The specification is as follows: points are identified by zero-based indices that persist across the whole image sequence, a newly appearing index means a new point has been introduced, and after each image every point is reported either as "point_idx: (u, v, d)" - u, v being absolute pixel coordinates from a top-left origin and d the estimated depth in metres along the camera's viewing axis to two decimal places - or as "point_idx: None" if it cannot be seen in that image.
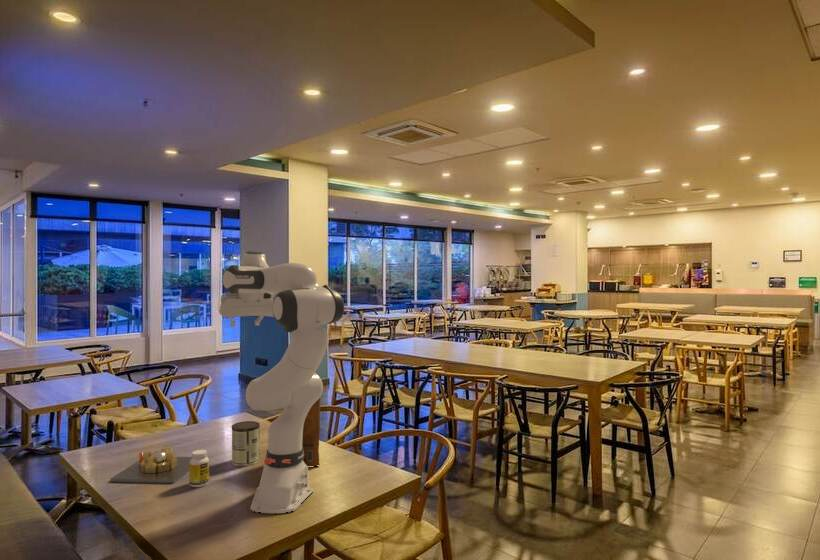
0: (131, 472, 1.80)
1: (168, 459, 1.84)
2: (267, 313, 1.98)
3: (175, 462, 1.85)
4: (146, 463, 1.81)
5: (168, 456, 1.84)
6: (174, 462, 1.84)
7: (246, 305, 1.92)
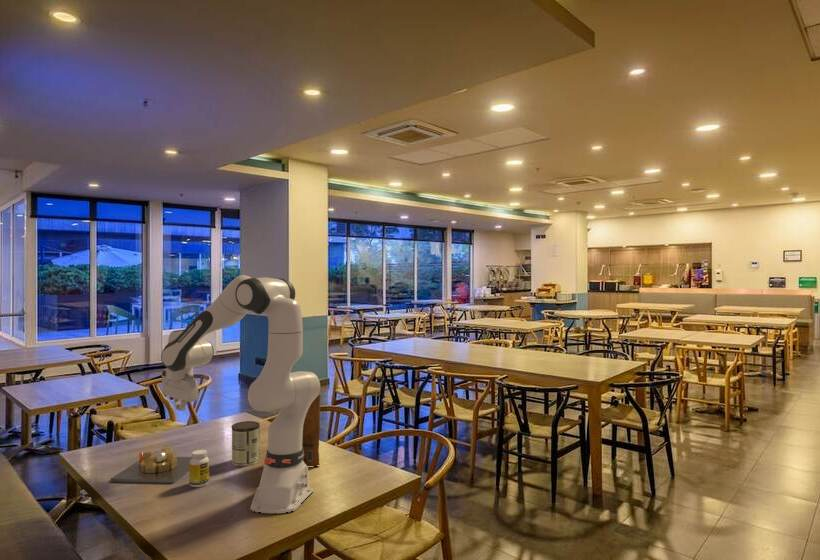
0: (131, 472, 1.80)
1: (168, 459, 1.84)
2: None
3: (175, 462, 1.85)
4: (146, 463, 1.81)
5: (168, 456, 1.84)
6: (174, 462, 1.84)
7: None
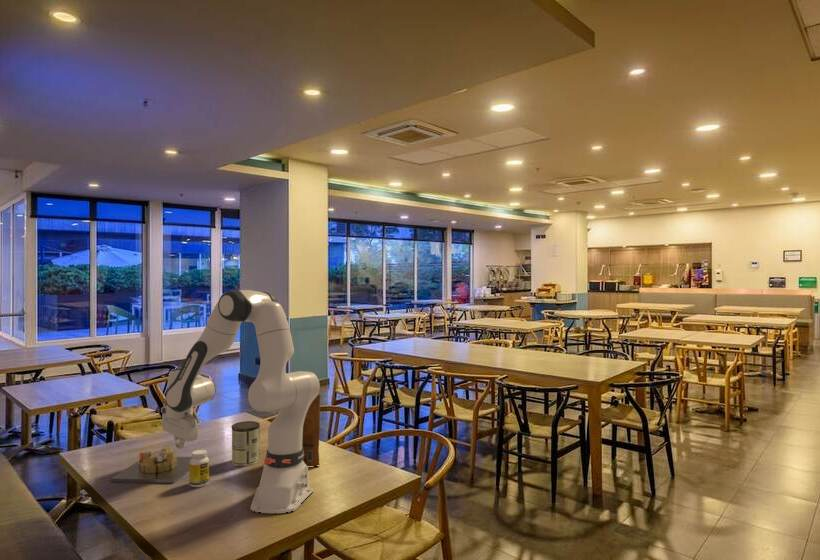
0: (131, 472, 1.80)
1: (168, 459, 1.84)
2: None
3: (175, 462, 1.85)
4: (146, 463, 1.81)
5: (168, 456, 1.84)
6: (174, 462, 1.84)
7: None
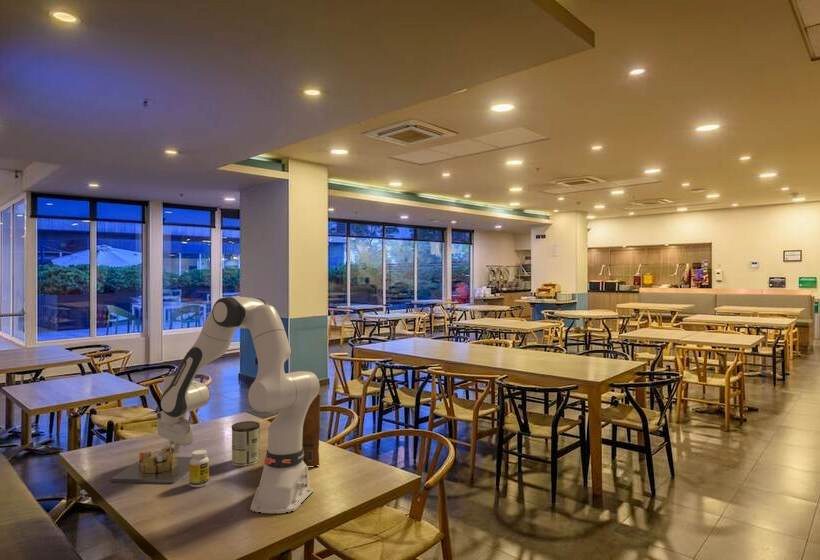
0: (131, 472, 1.80)
1: (168, 459, 1.84)
2: None
3: (175, 462, 1.85)
4: (146, 463, 1.81)
5: (168, 456, 1.84)
6: (174, 462, 1.84)
7: None
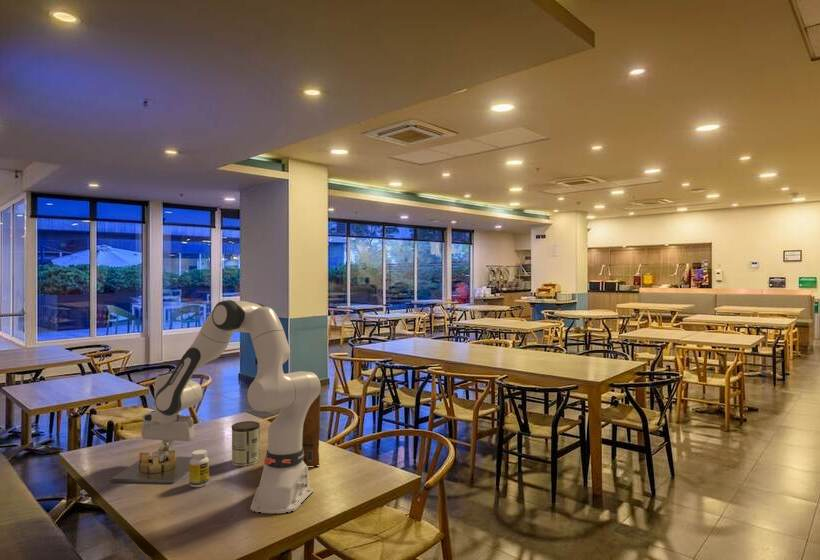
0: (131, 472, 1.80)
1: (169, 458, 1.85)
2: None
3: (176, 460, 1.87)
4: (148, 464, 1.81)
5: (170, 455, 1.85)
6: (176, 460, 1.86)
7: None
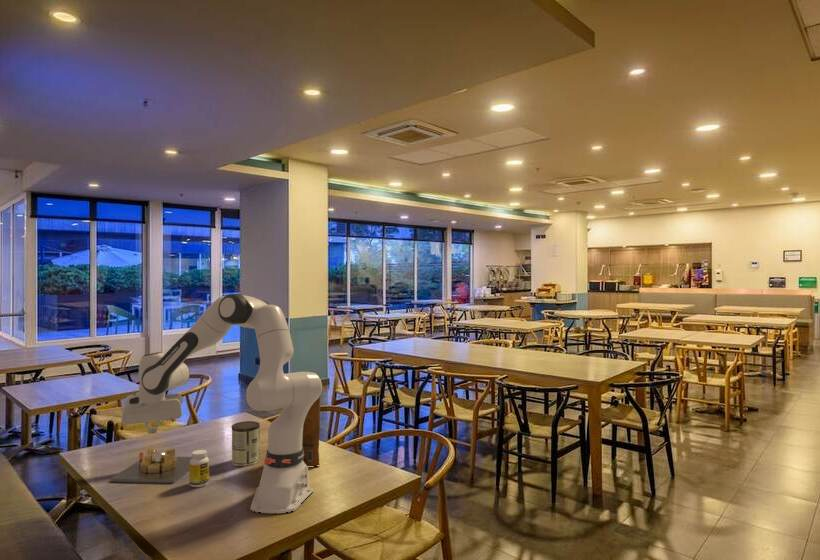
0: (131, 472, 1.80)
1: (170, 455, 1.87)
2: None
3: None
4: (156, 464, 1.80)
5: (170, 452, 1.87)
6: None
7: None
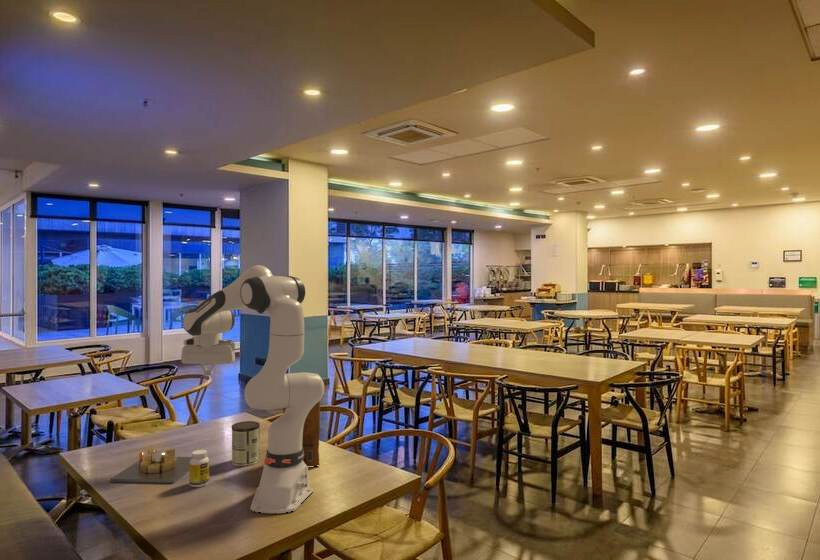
0: (131, 472, 1.80)
1: (170, 455, 1.87)
2: None
3: None
4: (156, 464, 1.80)
5: (170, 452, 1.87)
6: None
7: None
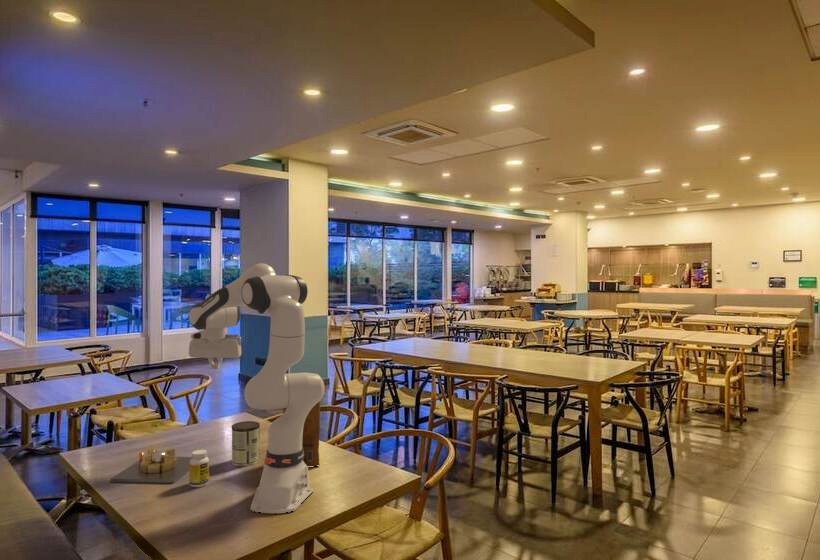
0: (131, 472, 1.80)
1: (170, 455, 1.87)
2: None
3: None
4: (156, 464, 1.80)
5: (170, 452, 1.87)
6: None
7: None
